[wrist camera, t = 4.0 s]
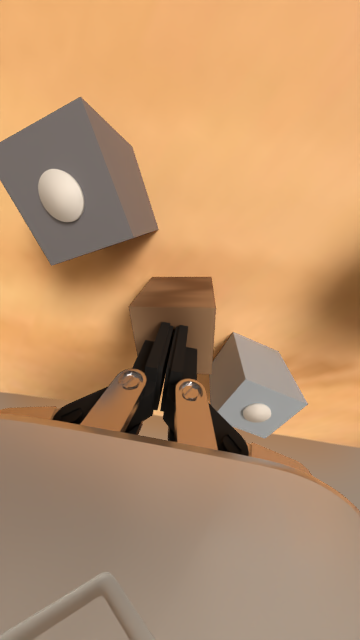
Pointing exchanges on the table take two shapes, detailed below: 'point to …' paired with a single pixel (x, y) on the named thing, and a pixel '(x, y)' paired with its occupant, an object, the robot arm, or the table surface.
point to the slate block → (253, 387)
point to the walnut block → (177, 314)
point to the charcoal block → (75, 183)
